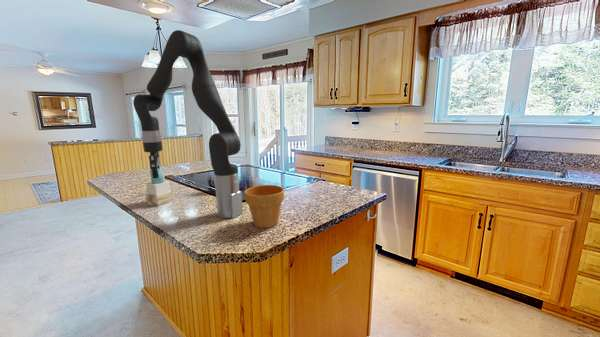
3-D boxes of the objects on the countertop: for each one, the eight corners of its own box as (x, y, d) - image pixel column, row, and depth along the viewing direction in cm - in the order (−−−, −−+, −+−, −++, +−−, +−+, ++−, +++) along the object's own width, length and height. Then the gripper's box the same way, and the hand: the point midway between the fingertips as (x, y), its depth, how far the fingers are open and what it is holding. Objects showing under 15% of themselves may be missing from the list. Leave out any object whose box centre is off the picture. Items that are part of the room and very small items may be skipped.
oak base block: (173, 201, 133) (172, 191, 132) (158, 207, 126) (156, 196, 125) (162, 199, 137) (161, 189, 136) (147, 204, 130) (145, 194, 129)
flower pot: (238, 226, 103) (236, 192, 100) (262, 213, 115) (261, 183, 112) (269, 234, 96) (268, 198, 93) (292, 220, 108) (291, 187, 105)
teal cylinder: (166, 181, 131) (164, 169, 129) (156, 184, 126) (154, 171, 125) (159, 180, 133) (157, 168, 132) (149, 183, 129) (147, 170, 127)
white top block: (170, 191, 132) (169, 181, 131) (156, 195, 126) (155, 185, 125) (161, 189, 136) (159, 179, 134) (147, 193, 130) (145, 183, 129)
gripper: (159, 141, 120) (164, 178, 124) (162, 138, 133) (166, 172, 137) (140, 143, 118) (145, 180, 121) (144, 139, 131) (149, 173, 134)
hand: (156, 176), depth 129 cm, fingers open, 8 cm apart
